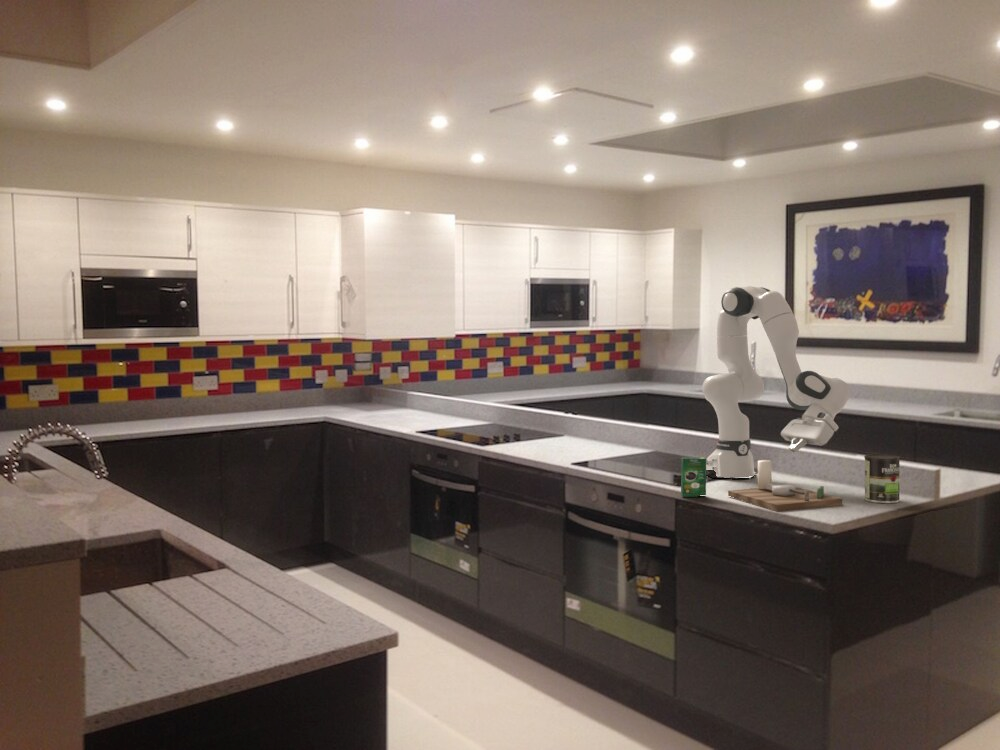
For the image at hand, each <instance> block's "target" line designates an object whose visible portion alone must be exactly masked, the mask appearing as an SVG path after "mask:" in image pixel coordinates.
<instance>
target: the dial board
mask: <svg viewBox="0 0 1000 750" xmlns="http://www.w3.org/2000/svg"><path fill="white" fill-rule="evenodd" d="M795 490H797V491H801V492H805V494H804V495H802V494H798V493H795V495H791V496H781V495H774V494H772V490H769V489H759V488H758V487H757V488H747V489H745V488H744V489H735V490H732V489H731V490H727V491H728V493H727V494H728V495H727V496H731V497H734V498H737V499H740V500H743V501H742V502H744V501H746V502H745V503H747V502H749V503H748V504H750V503H752V504H751V505H754V504H755V506H757V505H758V506H757V507H761V508H763V509H767V510H771V511H774V512H784V511H794V510H797V511H798V510H804V509H805V510H806V509H816V508H826V507H836V506H843V498H842V497H838V496H834V495H831V494H825V487H824V485H819V487H818V488H816V491H813V490H810V489H806V488H805V489H804V488H802V487H796V486H795ZM731 497H730V498H731ZM734 498H733V499H734ZM737 499H736V500H737ZM740 500H739V501H740Z"/></svg>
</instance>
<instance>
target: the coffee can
mask: <svg viewBox="0 0 1000 750" xmlns="http://www.w3.org/2000/svg"><path fill="white" fill-rule="evenodd" d="M900 459H901V457H900V456H898V455H892V454H877V453H875V454H874V453H873V454H865V455H864V501H866V502H868V503H869V502H870V503H876V504H897V503H899V502H900V465H901V464H900Z"/></svg>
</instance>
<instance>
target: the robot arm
mask: <svg viewBox="0 0 1000 750" xmlns="http://www.w3.org/2000/svg"><path fill="white" fill-rule="evenodd" d="M720 303H721V310H720V311H719V313H718V317H717V323H716V324H717V325H716V347H717V348H716V349H717V350H716V351H717V352H716V353H717V358H718V359H719V361H721V362H722V363H724V365H725V366H726V368H727V370H728V373H718V374H715V375H710V376H708V377H707V378H705V379H704V381H703V383H702V386H701V387H702V388H701V391H702V394H703V397H704V398H705V400H706V401H707V402H709V403H710V404H711V406H712V407H713V409H714V411H715V413H716V417H717V422H718V439H716V440H715V444H716V446H715V448H716V449H715V450H714V451H713V452H712V453H711V454H710V455H709V456H708V457H707V458H706V470H714V471H715V472H716V476H717V477H724V478H730V477H749V476H753V475H754V474H755V473H757V472H756V471H755V465H754V456H753V455H754V454H753V453H752V452H751V448H752V447H751V445H752V443H751V439H750V420H749V417H748V416H747V415H746V414H744V413H742V412H741V410H740V406H739V403H745V402H746V403H748V402H749V403H750V402H752V401H754V400H757V399H760V398H761V397H763V395H764V392H765V382H764V380H763V378H762V377H761V376H760V375H759V374H758V373H757V372H756V371H755V369H754V367H753V366H752V363H751V360H750V356H749V345H748V324H749V322H750V320H751V319H753V320H757V319H759V320H760V322H761V324H762V325H761V326H762V328H763V329H764V332H765V333H766V336H767V338H768V340H769V342H770V345H771V348H772V350H773V352H774V354H775V357H776V360H777V363H778V366H779V368H780V371H781V374H782V376H783V380H784V382H785V387H786V390H785V391H786V392H785V396H786V397H785V398H786V400H787V402H788V404H789V406H791V407H792V408H794V409H796V410H798V411H804V413H802V415H801V417H797V418H795V419H792V420H790V421H789V422H788V423H787V425H786V426H785V427H784V428H783V429H782V430H781V431H780V436H781V437H782V438H783V439H784V440H785V441H786V442H787V441H788V442H790V445H789V447H788V450H789V451H790V452H793V453H794V452H795V453H798V452H799V450H801V449H802V448H805V446H806V445H807V444H808V445H814V446H821V447H822V446H824V445H826V444H827V443H828V442H829V441H830V439H832V437H833V436H834V433H835V432H837V431H838V429H840V428H839V426H838V424H837V423H836V422H835V421H834V419H835V417H836V415H837V414H839V413H840V412H841V411H842V410H843V408H844V407H845V406H846V404H847V403H848V402H849V399H850V397H851V389H850V387H849V386H848V384H847V383H846V382H845V381H844V380H842V379H841V378H838V377H827V376H824V375H820V374H819V373H818V372H816V371H813V370H805V371H802V370H801V367H800V365H799V362H798V359H797V355H796V351H797V350H796V349H797V344H798V343H797V341H798V339H799V333H800V331H799V330H800V329H799V325H798V322H797V318H796V317H795V314H794V312H793V310H792V308H791V306H790V304H788V301H787V300H786V299H785V298H784V296H783V295H782V293H780V292H779V291H777V290H776V291H775V290H770V289H768V288H766V287H763V286H761V287H760V286H742V287H739V286H735V287H732V288H729V289H727V290H726V291H725V292H724V293H723V295H722V297H721V302H720Z"/></svg>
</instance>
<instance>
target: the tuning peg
mask: <svg viewBox="0 0 1000 750" xmlns="http://www.w3.org/2000/svg"><path fill="white" fill-rule="evenodd" d="M772 465H773V464H772V460H769V459H767V460H766V459H761V460H760V459H759V460H757V488H759V489H769V490H772V494H774V495H781V496H791V495H795V493H798V494H802V495H804V494H805V492H801V491H797V490H795V487H796V486H795V485H792V484H779V483H778V484H775V483H773V481H772V480H773V479H772V478H773V477H772V475H773V474H772V473H773V472H772V470H773V469H772V468H773V467H772Z"/></svg>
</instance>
